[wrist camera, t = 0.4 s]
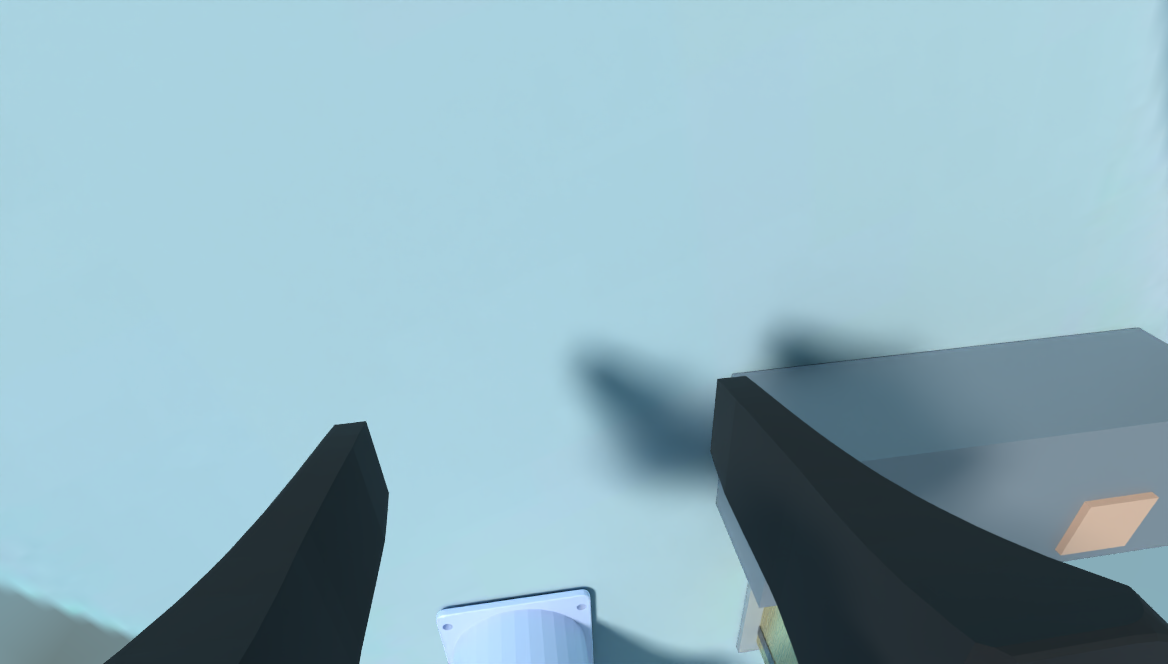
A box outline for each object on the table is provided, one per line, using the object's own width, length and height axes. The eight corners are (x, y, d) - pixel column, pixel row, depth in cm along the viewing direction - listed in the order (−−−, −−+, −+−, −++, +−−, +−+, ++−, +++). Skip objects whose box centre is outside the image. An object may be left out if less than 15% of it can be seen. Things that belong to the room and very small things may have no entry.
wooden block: (819, 631, 37) (853, 701, 33) (755, 641, 36) (783, 713, 33) (850, 535, 32) (894, 606, 28) (776, 546, 31) (811, 619, 28)
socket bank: (1067, 456, 31) (1175, 551, 26) (715, 503, 29) (762, 614, 25) (1139, 327, 27) (1285, 412, 22) (732, 374, 25) (792, 477, 20)
